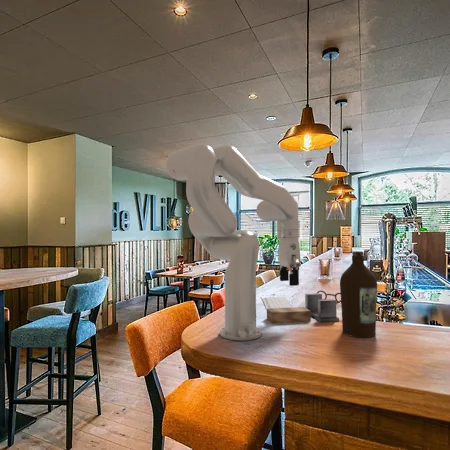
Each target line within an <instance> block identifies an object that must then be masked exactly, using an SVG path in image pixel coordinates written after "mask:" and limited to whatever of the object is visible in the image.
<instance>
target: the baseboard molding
mask: <svg viewBox="0 0 450 450" xmlns="http://www.w3.org/2000/svg"><path fill="white" fill-rule="evenodd" d="M270 296H271V297H270ZM270 296H269V297H268V296H266V297H265V296H264V295H263V294H262V296H261V297H260V299H261V300H262V302H263V305H264V306H265V309H266V310H267V309H269V308H291V307H293V306H292V304H291V303H290V301H289V300H288V299H287V297H285V296H281V297H280V296H277V297H274V296H276V294H275V293H274V294H270ZM263 297H264V298H263Z"/></svg>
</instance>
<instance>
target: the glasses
mask: <svg viewBox="0 0 450 450" xmlns="http://www.w3.org/2000/svg"><path fill="white" fill-rule="evenodd" d="M317 293H322V294H324V296H325V297H324V298H322V300H325V299H327V298H328V296H331V297H332V296H333V297H334V298H335V299H334V300H336V305H337V304H341V303H340V302H341V299H340V300H338V299H337V295H338V296H339V295H341V292H337V293H335V294H333V293H327V292H325V291H324V290H318V291H317V292H316V293H315V294H317Z"/></svg>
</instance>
